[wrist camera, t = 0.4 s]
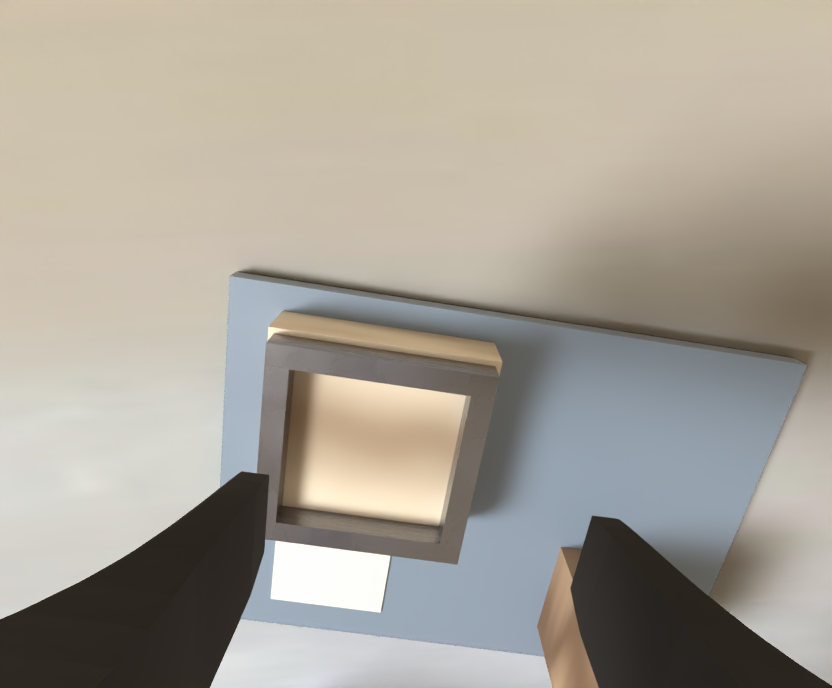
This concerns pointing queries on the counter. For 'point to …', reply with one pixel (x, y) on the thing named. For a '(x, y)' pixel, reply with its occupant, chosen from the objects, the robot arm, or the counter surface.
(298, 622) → the board
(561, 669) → the walnut block
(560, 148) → the counter surface
